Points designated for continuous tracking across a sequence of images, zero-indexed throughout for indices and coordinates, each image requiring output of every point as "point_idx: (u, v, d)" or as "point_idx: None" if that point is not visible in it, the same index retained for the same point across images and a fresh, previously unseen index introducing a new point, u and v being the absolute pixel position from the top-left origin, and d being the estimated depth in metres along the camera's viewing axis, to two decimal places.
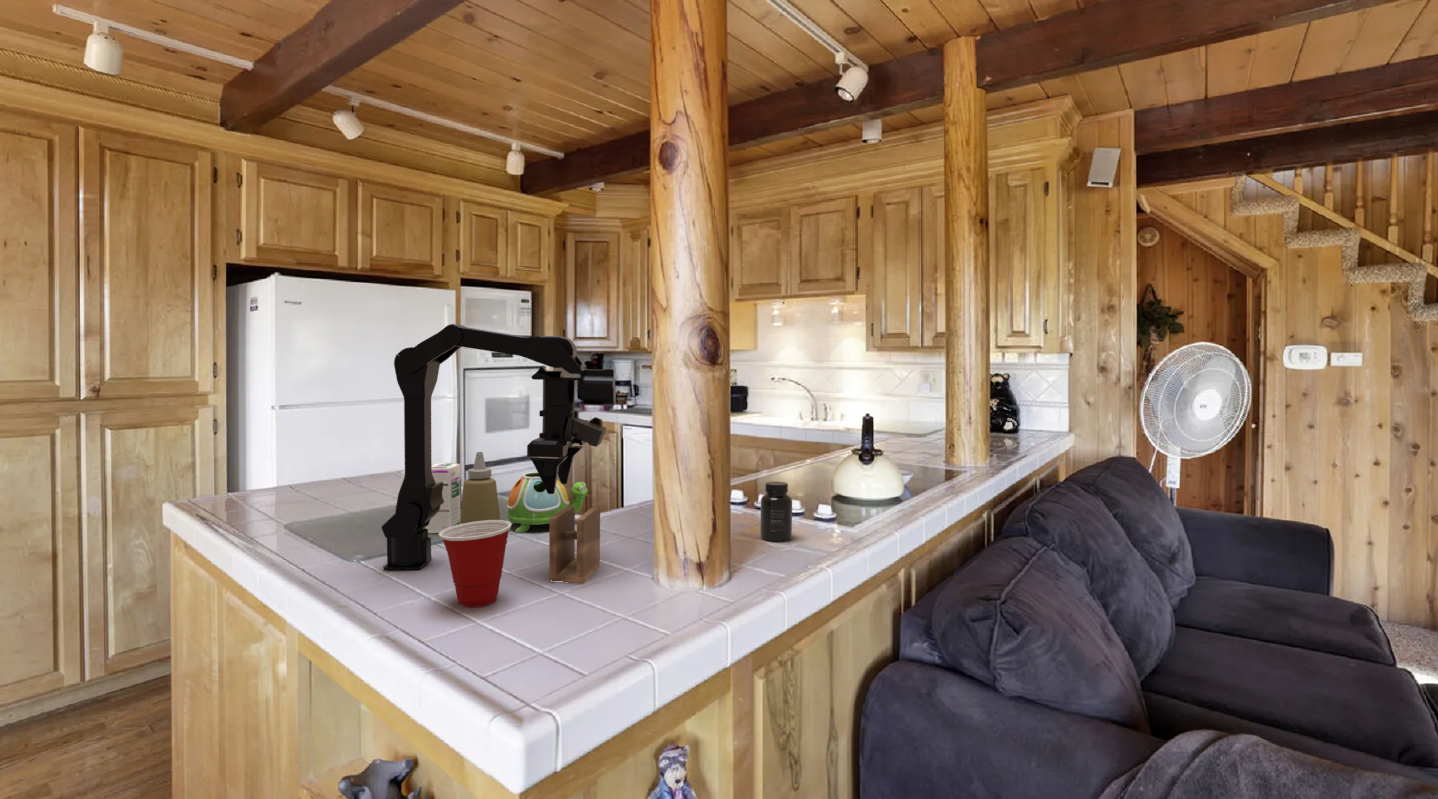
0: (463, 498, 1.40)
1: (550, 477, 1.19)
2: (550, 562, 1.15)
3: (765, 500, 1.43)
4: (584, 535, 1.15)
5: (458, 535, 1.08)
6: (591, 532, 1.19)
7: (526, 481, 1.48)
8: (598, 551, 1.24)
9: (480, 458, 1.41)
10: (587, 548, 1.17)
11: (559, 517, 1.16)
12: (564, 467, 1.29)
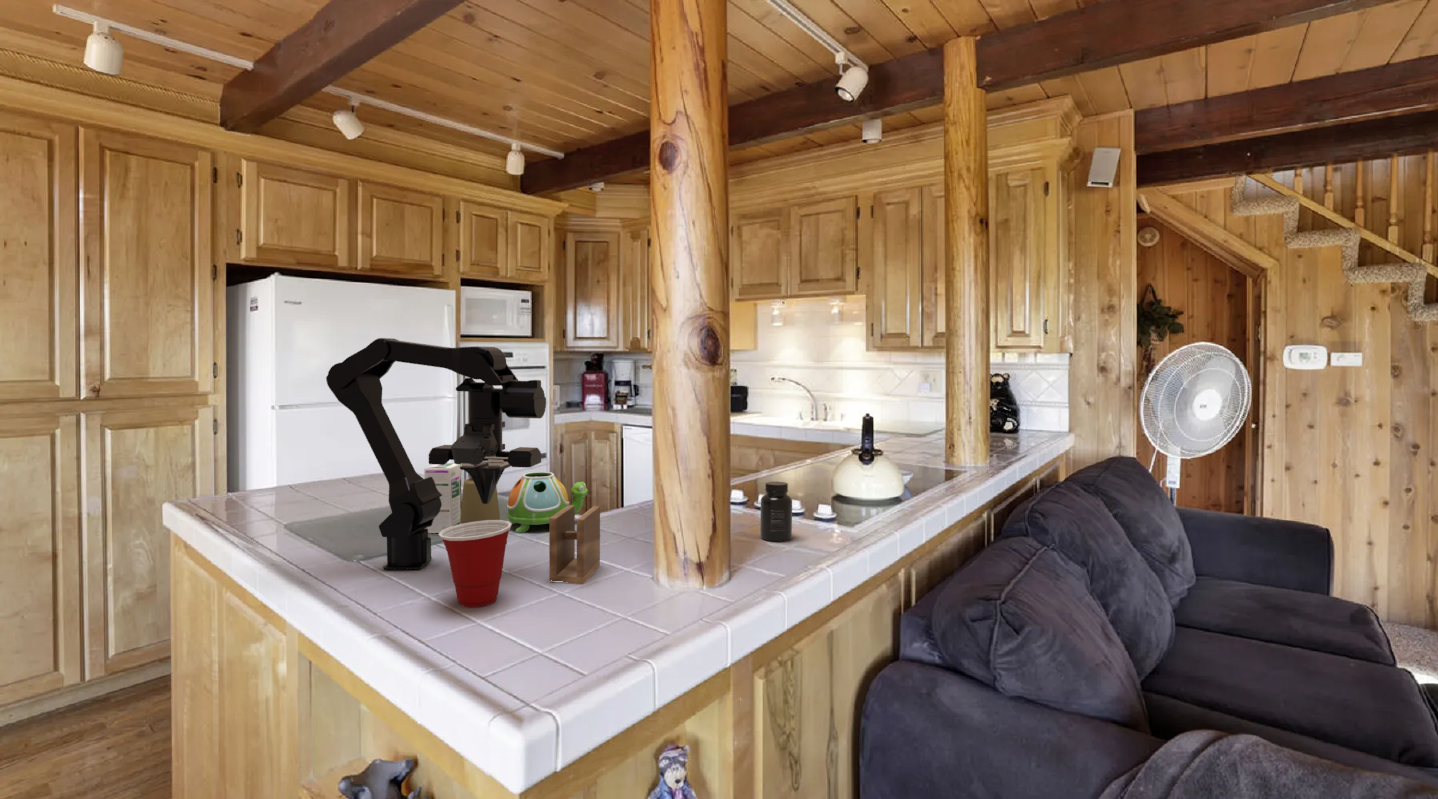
0: (463, 498, 1.40)
1: None
2: (550, 562, 1.15)
3: (765, 500, 1.43)
4: (584, 535, 1.15)
5: (458, 535, 1.08)
6: (591, 532, 1.19)
7: (526, 481, 1.48)
8: (598, 551, 1.24)
9: None
10: (587, 548, 1.17)
11: (559, 517, 1.16)
12: None
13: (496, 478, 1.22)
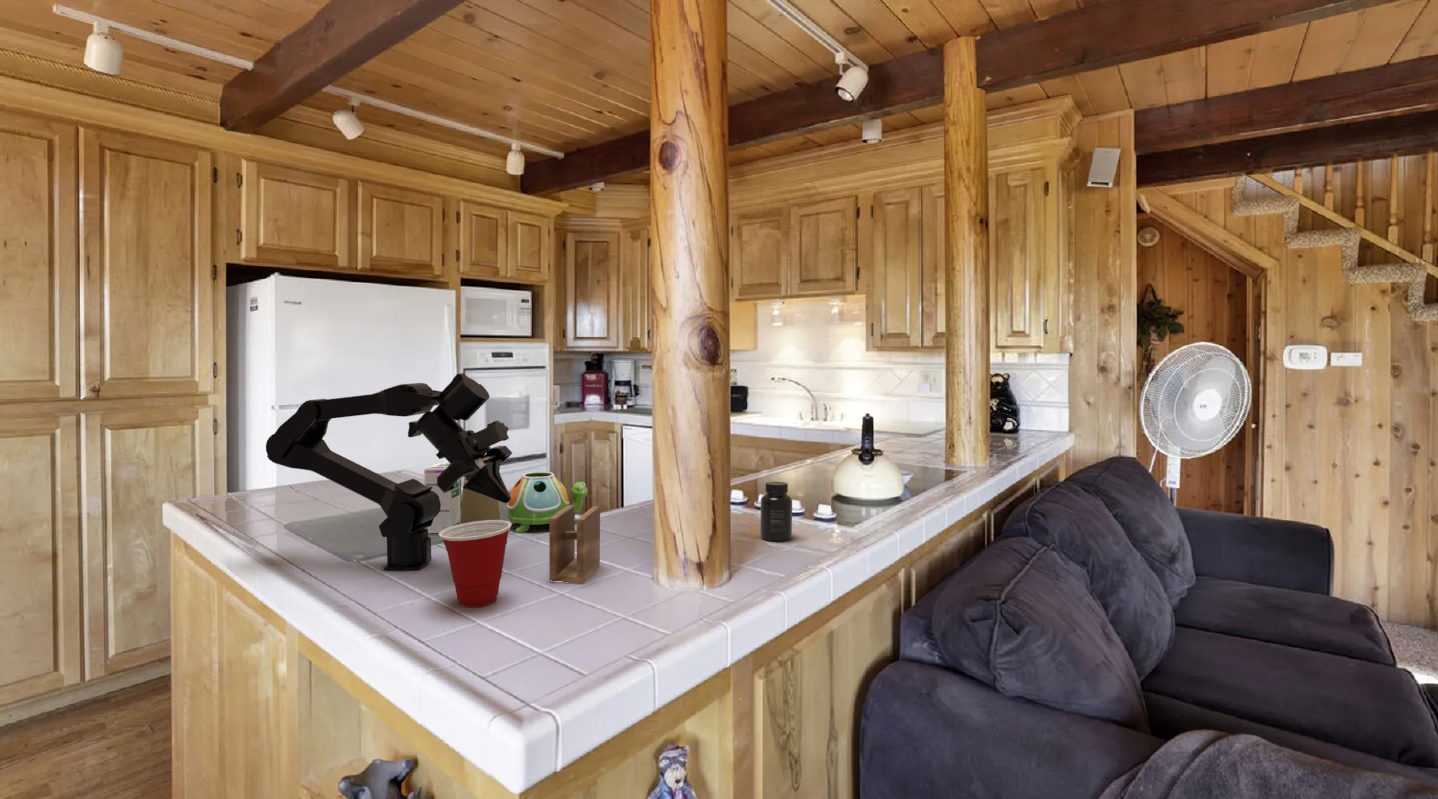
0: (463, 498, 1.40)
1: (494, 489, 1.19)
2: (550, 562, 1.15)
3: (765, 500, 1.43)
4: (584, 535, 1.15)
5: (458, 535, 1.08)
6: (591, 532, 1.19)
7: (526, 481, 1.48)
8: (598, 551, 1.24)
9: None
10: (587, 549, 1.17)
11: (559, 517, 1.16)
12: None
13: None
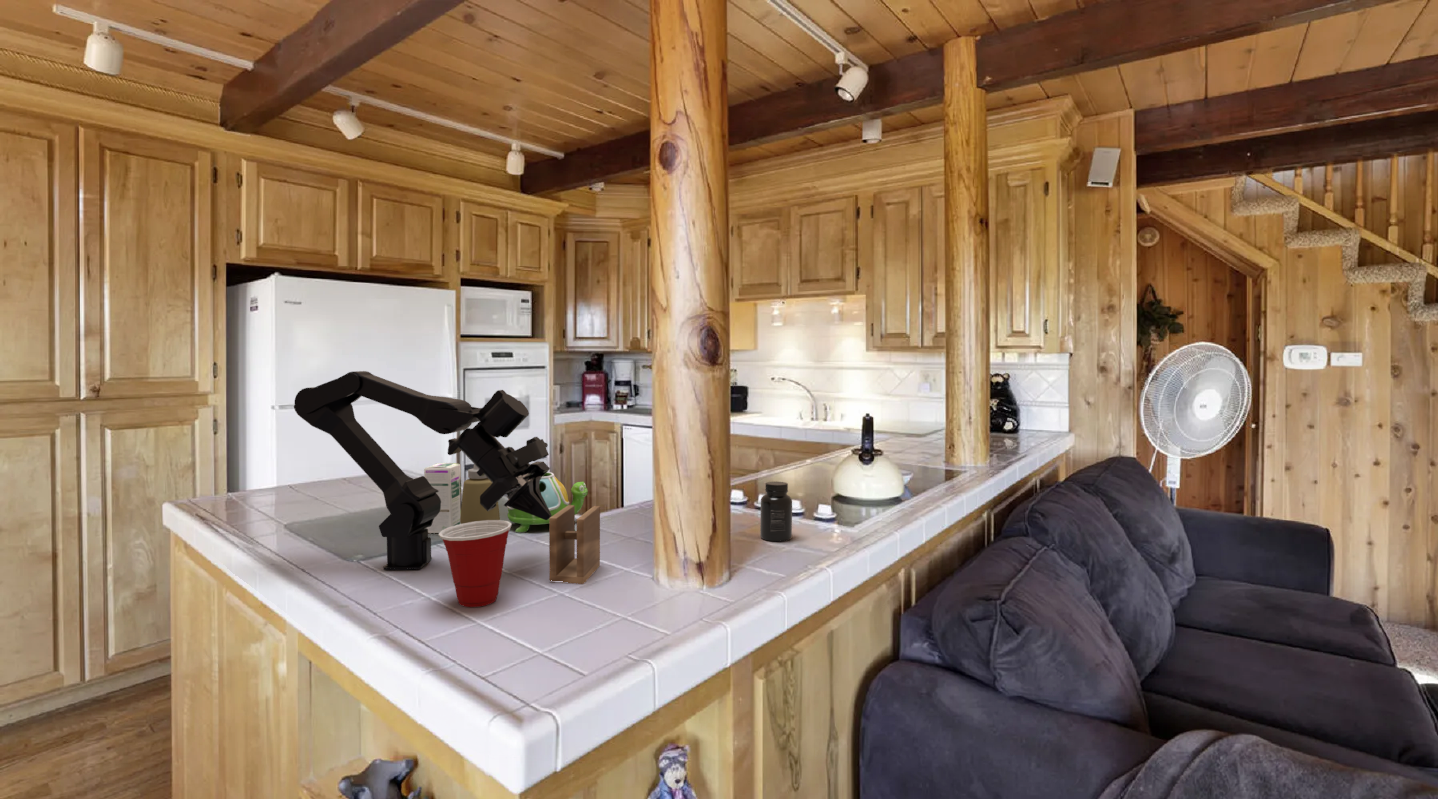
0: (463, 498, 1.40)
1: (535, 506, 1.19)
2: (550, 562, 1.15)
3: (765, 500, 1.43)
4: (584, 535, 1.15)
5: (458, 535, 1.08)
6: (591, 532, 1.19)
7: None
8: (598, 551, 1.24)
9: None
10: (587, 548, 1.17)
11: (559, 517, 1.16)
12: None
13: None
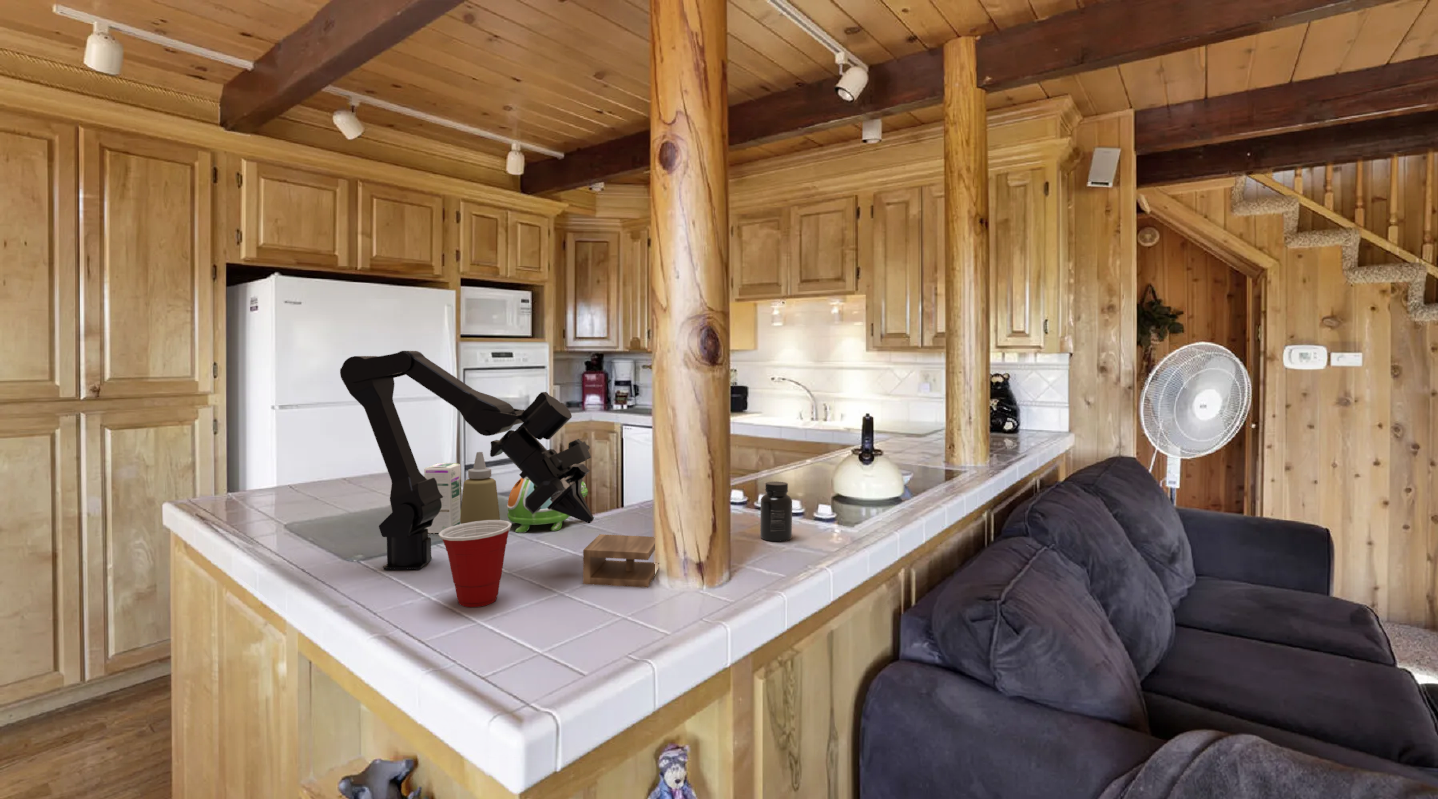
0: (463, 498, 1.40)
1: (577, 509, 1.18)
2: (603, 551, 1.14)
3: (765, 500, 1.43)
4: (631, 586, 1.14)
5: (458, 535, 1.08)
6: None
7: (526, 481, 1.48)
8: None
9: (480, 458, 1.41)
10: None
11: None
12: None
13: None
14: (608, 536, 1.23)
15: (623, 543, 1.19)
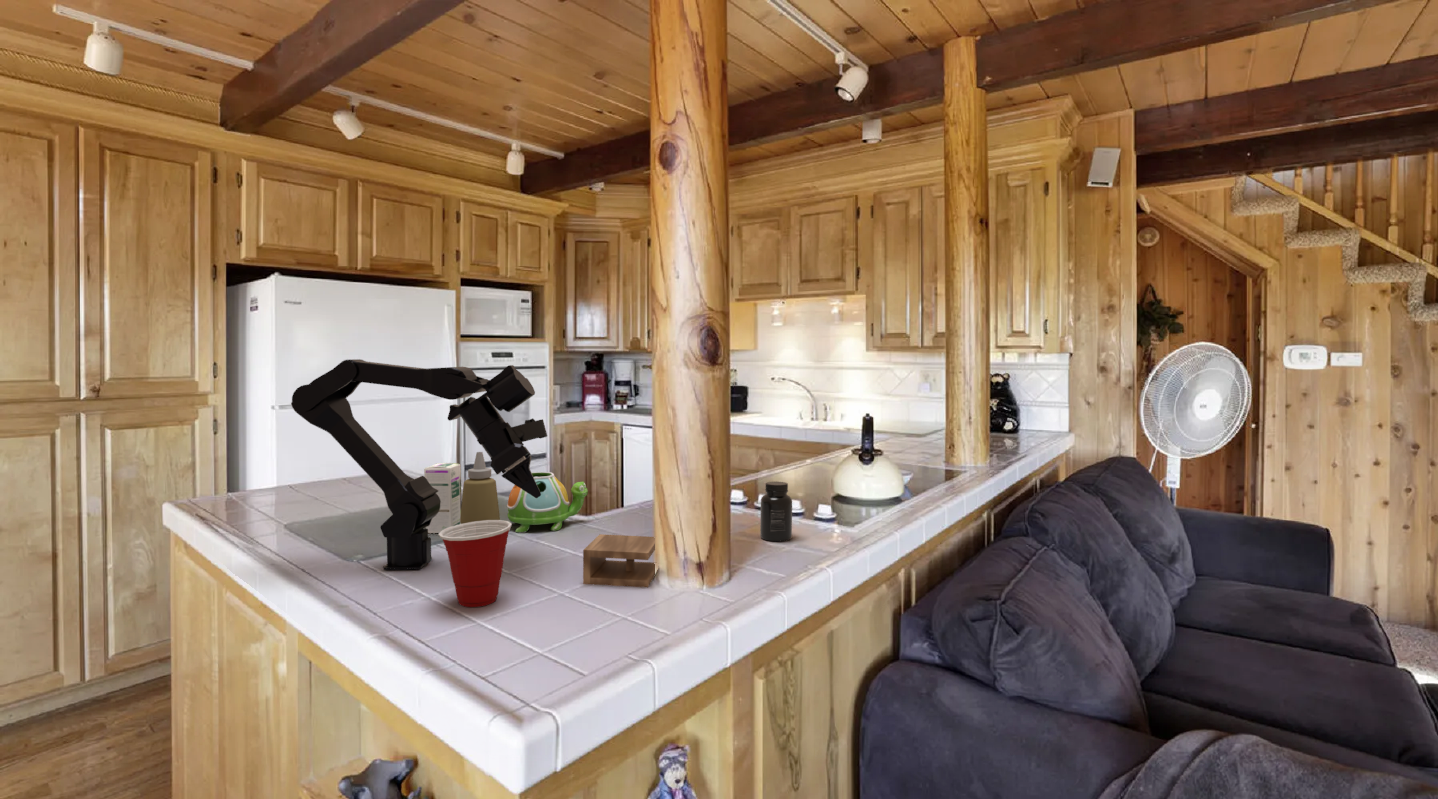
0: (463, 497, 1.40)
1: (529, 482, 1.21)
2: (603, 552, 1.14)
3: (765, 500, 1.43)
4: (631, 586, 1.14)
5: (458, 535, 1.08)
6: None
7: None
8: None
9: (480, 458, 1.41)
10: None
11: None
12: None
13: None
14: (608, 536, 1.23)
15: (623, 543, 1.19)
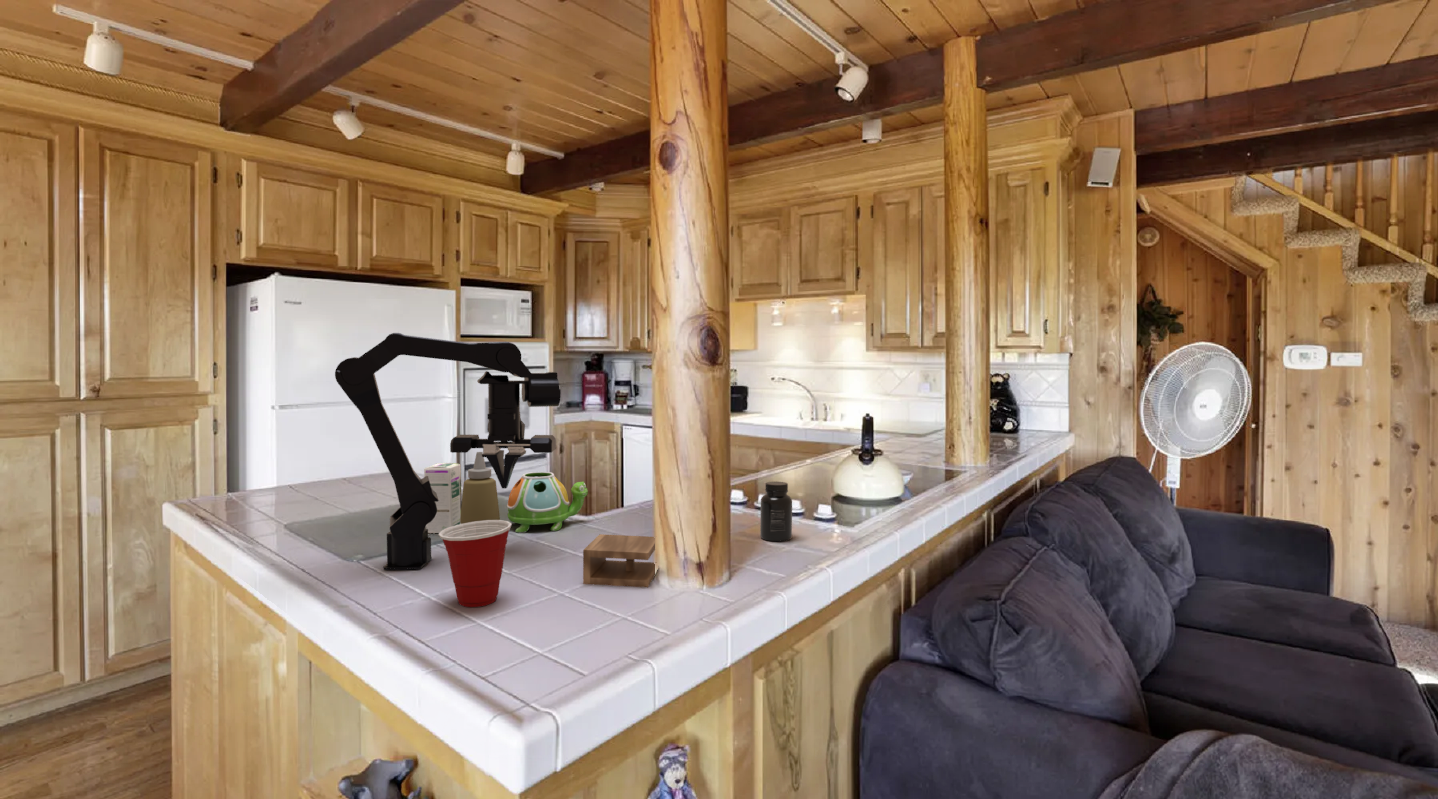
0: (463, 497, 1.40)
1: (511, 471, 1.30)
2: (603, 551, 1.14)
3: (765, 500, 1.43)
4: (631, 586, 1.14)
5: (458, 535, 1.08)
6: None
7: (526, 481, 1.48)
8: None
9: (480, 458, 1.41)
10: None
11: None
12: (503, 471, 1.30)
13: None
14: (608, 536, 1.23)
15: (623, 543, 1.19)
